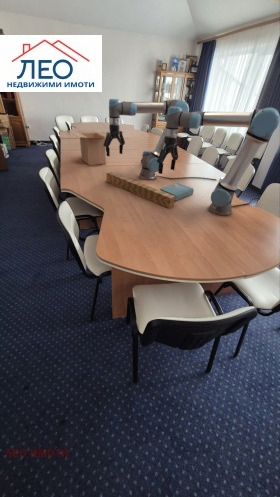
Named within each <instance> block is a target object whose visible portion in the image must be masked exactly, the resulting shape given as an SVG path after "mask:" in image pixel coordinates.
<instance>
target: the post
mask: <svg viewBox="0 0 280 497" xmlns="http://www.w3.org/2000/svg"><path fill="white" fill-rule="evenodd" d="M105 175H106V177H105V178H106V182H107V183H108V184H111V185H114V186H116V187H118V188H121V189H123V190H126V191H128V192H130V193H132V194H135V195H137V196H139V197H142V198H144V199H147V200H149V201H151V202H153V203H155V204H158V205H160V206H162V207H165V208H167V209H170V208H173V207H174V203H175V201H174V198H175V196H173V195H170V194H168V193H165V192H162V191H160V189H157V188H154V187H152V186H149V185H147V184H144V183H141V182H139V181H137V180H133V179H132V178H129V177H126V176H123V175H122V174H118V173H116V172H113V171H108V172H106V173H105Z"/></svg>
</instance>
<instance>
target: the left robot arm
mask: <svg viewBox="0 0 280 497" xmlns="http://www.w3.org/2000/svg"><path fill="white" fill-rule="evenodd" d="M169 107H180V108H181V112H188V113H190V107H189V104H188V103H187V101H184V100H182V99H170V100H162V101H121V100H120V99H117V98H110V99H109V100H108V123H109V125H108V128H109V131H106V132H105V133H106V138H105V142H104V145H103V146H105V153H106V157H110V156H111V153H110V152H111V151H110V145H111V143H112V142H113V140H114V139H115V140H117V141H118V143H119V146H118V148H119V150H118V151H119V154H120V155H123V149H124V145H125V144H126V141H125V137H124V136H123V135H124V134H123V131H122V130H120V122H121V121H120V120H121V119H120V118H121V117H120V116H127V117H128V116H129V117H135V116H136V115H137V114H161V115H163V116H167V114H168V108H169ZM165 131H166V125H165V126H164V128H163V130H162V132H161V135H160V136H159V139H158V141H157V143H156V145H155V148H154V149H153V150H143V152H142V157H141V160H142V163H141V169H140V172H139V174H138V175H139V178H140V179H142V180H146V181H154V180H156V178H161V179H168V180H180V179H203V180H204V179H205V180H209V181H210V180H212V181H217V179H216V178H210V177H200V176H189V177H187V176H186V177H185V176H184V177H166V176H161V175H157V174H156V173H158V171H159V163H158V162H157V160H158V157H159V154H160V152H161V148H162V146H165V143H164V140H165ZM161 162H162V161H161Z"/></svg>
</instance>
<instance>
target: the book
mask: <svg viewBox="0 0 280 497" xmlns="http://www.w3.org/2000/svg"><path fill="white" fill-rule="evenodd" d="M159 190H160V191H162V192H165V193H168V194H170V195H173V196H175V198H174V202H176V201H179V200H182V199H184V198H186V197H188V196H191V195H193V194H194V188H193V187H191V186H188V185H185V184H183V183H180V182H175V183H172V184H170V185H166V186H164V187H161V188H159Z"/></svg>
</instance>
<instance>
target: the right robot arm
mask: <svg viewBox="0 0 280 497" xmlns="http://www.w3.org/2000/svg"><path fill="white" fill-rule="evenodd" d="M279 124H280V112H279V110H278V109H277V108H275V107H271V106H269V107H265V108H259V109H252V110H251V111H200V110H195V111H192V112H189V113H188V112H181V108H180V107H169V108H168V114H167V115H166V124H165V126H166V131H165V140H164V143H165V146H162V148H161V152H160V154H159V157H158V160H157V162H158V163H159V171H157V173H158V174H160V175H163V170H164V161H165V160H166V157H167V156H168V155H169V154H170V155H171V158H172V159H171V162H170V170H172V171H175V167H176V161H178V159H179V151H178V144H177V142H178V134H179V127H180V128H187V129H191V130H192V129H194V130H196V129H199V127H221V128H222V127H223V128H228V127H229V128H247V131H246V132H245V139H244V141H243V144H242V145H241V147H240V149H239V150H238V152H237V154H236V155H235V157H234V159H233V161H232V163H231V165H230V166H229V168H228V170H227V172H226V173H225V175H224V177H220V178H219V180H218V182H217V184H216V186H215V188H214V189H213V191H212V192H211V194H210V201H211V203H210V204H209V206H208V211H209V212H210V213H212V214H213V215H217V216H223V217H225V216H230V215H231V214H232V208H235V207H241V206H247V205H250V204H251V203H252V201H253V200H260V201H261V198H260V197H254V198H251V199H250V202H247V203H241V204H235V205H232V202H233V199H234V196H235V194H236V192H237V190H238V184H239V183H240V181H241V179H242V177H243V176H244V175H245V173H246V171H247V170H248V168H249V166H250V165H251V163H252V161H253V160H254V158H255V156H256V155H257V154H258V152H259V150H260V148H261V147H262V146H263V145H264V144H266V143H268V141H269V140H270V138H271V137H272V135H273V134H274V132H275V131H276V130H277V128H278V127H279ZM161 161H162V162H161Z"/></svg>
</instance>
